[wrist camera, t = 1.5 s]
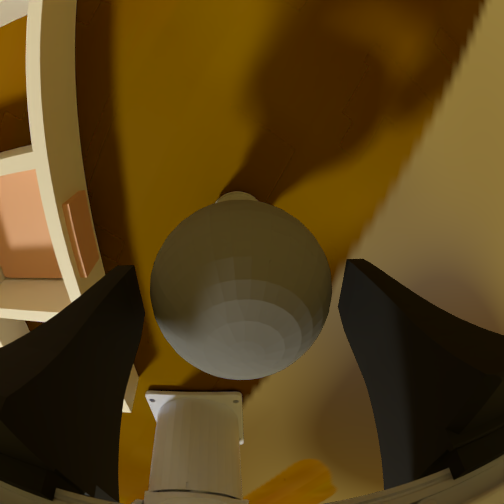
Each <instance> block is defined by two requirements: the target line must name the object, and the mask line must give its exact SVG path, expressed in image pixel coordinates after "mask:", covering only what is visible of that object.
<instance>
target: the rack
mask: <svg viewBox="0 0 504 504" xmlns="http://www.w3.org/2000/svg"><path fill="white" fill-rule="evenodd" d="M76 5H77V0H0V27H2V26H4V25H6V24H8V23H10V22H12V21H14V20H16V19H19V18H21V17H23V16H25V15H28V16H27V33H26V86H27V104H28V116H29V126H30V135H31V143H32V145H28V146H24V147H20V148H16V149H12V150H8V151H4V152H0V348H1V347H3V346H5V345H7V344H9V343H11V342H13V341H15V340H16V339H18V338H20V337H22V336H24V335H25V334H27V333H29V332H30V331H29V328H28V326H27V324H26V322H25V320H28V321H39V322H46V321H48V320H49V319H51V318H52V317H53V316H55V315H56V314H58V313H59V312H60V311H62V310H63V309H64V308H65V307H67V306H68V305H69V304H70V303H72V302H73V301H74V300H76V299H77V298H78V297H79V296H81V295H82V294H83V293H84V292H85V291H87V290H88V289H89V288H90V287H91V286H93V285H94V284H95V283H96V282H97V281H99V280H100V279H101V278H102V277H103V276H105V271H104V267H103V263H102V259H101V255H100V251H99V247H98V243H97V238H96V234H95V229H94V224H93V219H92V214H91V209H90V204H89V198H88V192H87V187H86V180H85V174H84V167H83V160H82V152H81V144H80V135H79V125H78V113H77V99H76V79H75V24H76ZM138 379H139V377H138V374H137V371H136V369H135V366H134V363H133V366H132V370H131V373H130V377H129V380H128V384H127V387H126V392H125V396H124V402H123V409H122V412H130V413H131V411H132V406H133V401H134V397H135V392H136V388H137V383H138Z"/></svg>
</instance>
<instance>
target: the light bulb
mask: <svg viewBox="0 0 504 504" xmlns="http://www.w3.org/2000/svg"><path fill="white" fill-rule="evenodd" d="M331 295H332V285H331V272H330V268H329V265H328V262H327V259H326V256H325V254H324V252H323V250H322V248H321V247H320V245H319V244H318V242H317V240H316V239H315V237H314V236H313V235H312V233H311V232H310V231H309V230H308V229H307V228H306V227H305V226H304V225H303V224H302V223H301V222H300V221H299V220H297V219H296V218H294V217H293V216H291V215H290V214H288V213H287V212H285V211H284V210H282V209H280V208H277V207H275V206H272V205H269V204H267V203H264V202H259V201H258V200H257V199H256V198H255V197H253V196H252V195H250V194H248V193H245V192H240V191H234V192H229V193H227V194H224V195H223V196H221V197H220V198H219V199H218V200H217V201H216V202H215V203H214V204H212V205H209V206H207V207H204V208H202V209H200V210H198V211H196V212H195V213H193V214H192V215H190V216H189V217H188V218H186V219H185V220H183V221H182V222H181V223H180V224H179V225H178V226H177V227H176V228H175V229H174V230H173V231H172V232H171V233H170V235H169V236H168V237H167V239H166V240H165V242H164V244H163V245H162V247H161V249H160V251H159V252H158V254H157V257H156V260H155V263H154V266H153V270H152V273H151V283H150V297H151V302H152V307H153V311H154V315H155V319H156V321H157V323H158V325H159V327H160V329H161V331H162V333H163V335H164V337H165V338H166V340H167V341H168V342H169V343H170V345H171V346H172V347H173V348H174V350H175V351H176V352H177V353H178V354H179V355H180V356H181V357H182V358H184V359H185V360H186V361H187V362H189V363H190V364H192V365H193V366H195V367H197V368H198V369H200V370H202V371H204V372H206V373H208V374H211V375H214V376H217V377H221V378H226V379H235V380H250V379H257V378H262V377H265V376H268V375H272V374H274V373H277V372H279V371H281V370H283V369H285V368H286V367H288V366H289V365H291V364H293V363H294V362H295V361H296V360H297V359H299V358H300V357H301V356H302V355H303V354H304V353H305V352H306V351H307V350H308V349H309V348H310V347H311V346H312V344H313V342H314V341H315V340H316V338H317V337H318V335H319V334H320V332H321V330H322V328H323V325H324V323H325V321H326V318H327V316H328V313H329V307H330V302H331Z"/></svg>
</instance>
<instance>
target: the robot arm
mask: <svg viewBox="0 0 504 504" xmlns="http://www.w3.org/2000/svg"><path fill="white" fill-rule="evenodd" d="M338 308H339V313H340V316H341V320H342V324H343V328H344V331H345V333H346V336H347V339H348V341H349V343H350V346H351V348H352V350H353V353H354V356H355V358H356V360H357V363H358V365H359V368H360V370H361V372H362V375H363V378H364V380H365V383H366V386H367V389H368V393H369V397H370V401H371V405H372V408H373V413H374V418H375V423H376V428H377V432H378V438H379V445H380V452H381V458H382V467H383V479H384V490H383V491H379V492H375V493H372V494H368V495H364V496H359V497H355V498H351V499H346V500H341V501H336V502H331V503H325V504H504V335H501V334H498V333H495V332H492V331H488V330H486V329H483V328H481V327H478V326H476V325H474V324H471V323H469V322H467V321H464V320H462V319H460V318H458V317H455V316H454V315H452V314H450V313H448V312H446V311H444V310H442V309H440V308H438V307H437V306H435V305H433V304H432V303H430V302H428V301H427V300H425V299H423V298H422V297H420V296H419V295H417V294H415V293H414V292H412V291H411V290H409V289H408V288H406V287H405V286H403V285H402V284H400V283H399V282H398V281H396V280H395V279H393V278H392V277H390V276H389V275H387V274H386V273H385V272H383V271H382V270H380V269H379V268H377V267H376V266H374V265H373V264H371V263H370V262H368V261H366V260H364V259H347V261H346V267H345V272H344V278H343V283H342V289H341V294H340V299H339V304H338ZM144 316H145V311H144V307H143V302H142V298H141V294H140V290H139V285H138V281H137V276H136V272H135V267H134V265H127V266H117V267H115V268H114V269H112V270H111V271H110V272H108V273H107V274H106V275H105V276H103V277H102V278H101V279H100V280H99V281H97V282H96V283H95V284H94V285H93V286H91V287H90V288H89V289H88V290H87V291H85V292H84V293H83V294H82V295H81V296H79V297H78V298H77V299H76V300H74V301H73V302H72V303H70V304H69V305H68V306H67V307H65V308H64V309H63V310H62V311H60V312H59V313H58V314H56V315H55V316H53V317H52V318H51V319H49V320H48V321H46V322H45V323H43V324H42V325H40V326H39V327H37V328H36V329H34V330H32V331H31V332H29V333H27V334H25V335H24V336H22V337H20V338H18V339H16V340H15V341H13V342H11V343H9V344H7V345H5V346H3V347H1V348H0V504H122V503H119V487H118V454H119V437H120V425H121V417H122V409H123V402H124V396H125V392H126V387H127V384H128V380H129V377H130V373H131V370H132V366H133V363H134V359H135V356H136V353H137V349H138V346H139V342H140V339H141V334H142V329H143V322H144ZM145 396H146V399H147V401H148V403H149V406H150V408H151V410H152V413H153V415H154V417H155V419H156V422H157V424H156V431H155V439H154V446H153V454H152V463H151V472H150V481H149V490H148V491H145V496H144V500H140V499H136V500H134V502H132V503H131V504H249V503H248V500H242V485H241V465H240V445H241V444H243V443H244V437H243V410H242V394H241V393H240V392H236V391H233V392H177V391H152V390H149V391H147V392H146V395H145Z"/></svg>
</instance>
